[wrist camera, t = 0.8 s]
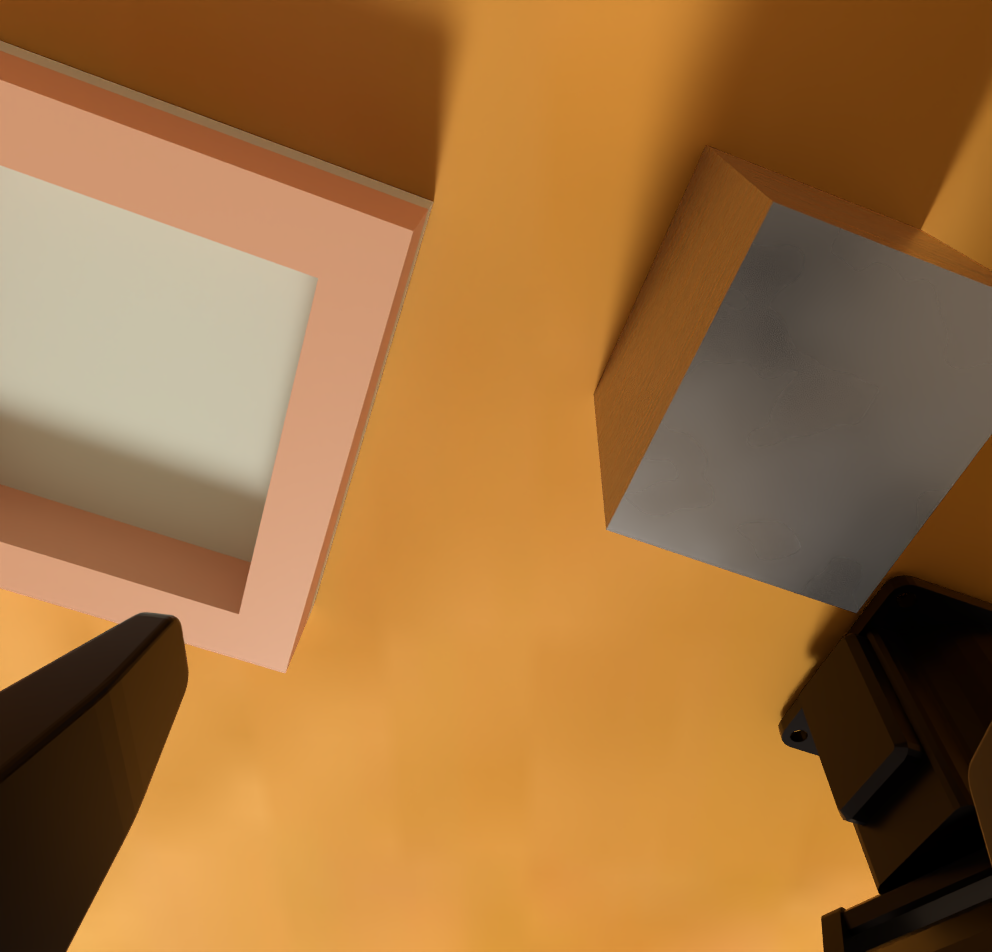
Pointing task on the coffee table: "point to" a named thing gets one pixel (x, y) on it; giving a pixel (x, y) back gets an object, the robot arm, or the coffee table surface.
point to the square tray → (182, 357)
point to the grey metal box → (793, 385)
